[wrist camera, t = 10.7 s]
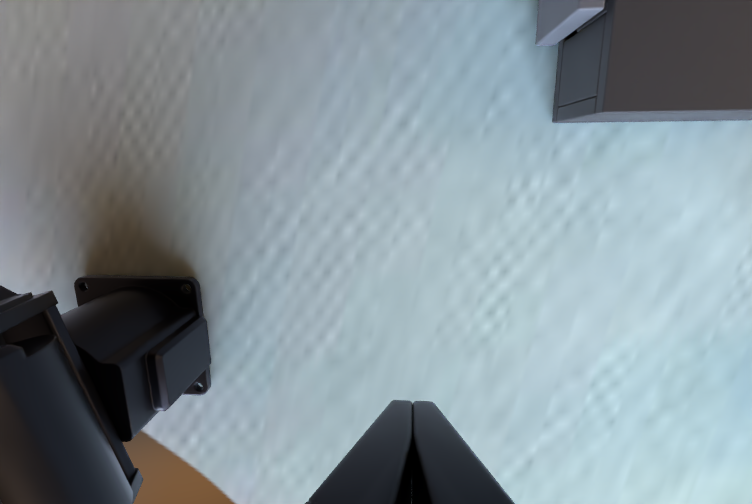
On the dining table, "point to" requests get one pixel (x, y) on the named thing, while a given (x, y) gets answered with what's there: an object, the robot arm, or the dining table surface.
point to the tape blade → (563, 18)
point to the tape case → (657, 63)
